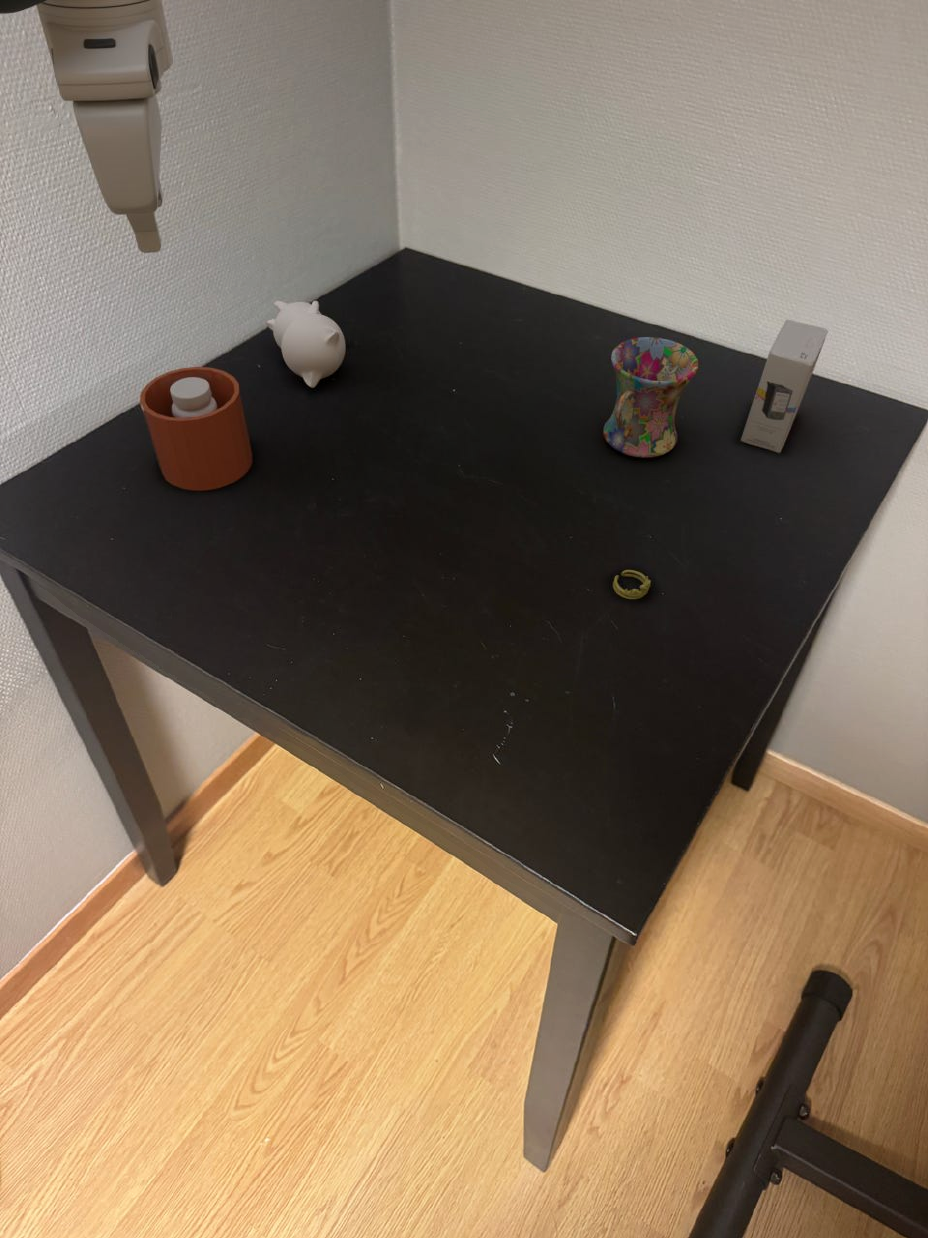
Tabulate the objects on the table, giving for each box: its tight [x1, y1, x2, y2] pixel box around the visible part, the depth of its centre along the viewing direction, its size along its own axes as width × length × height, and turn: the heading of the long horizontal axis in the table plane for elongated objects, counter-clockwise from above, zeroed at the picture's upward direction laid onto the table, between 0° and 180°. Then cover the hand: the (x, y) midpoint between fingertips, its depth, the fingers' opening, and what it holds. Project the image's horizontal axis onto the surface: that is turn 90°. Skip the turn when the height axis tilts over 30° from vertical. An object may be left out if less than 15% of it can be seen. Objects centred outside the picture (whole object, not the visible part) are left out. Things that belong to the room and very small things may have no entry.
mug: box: [602, 336, 699, 458], centre depth 96 cm, size 12×9×11 cm
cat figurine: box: [266, 300, 346, 389], centre depth 108 cm, size 9×11×12 cm
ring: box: [612, 569, 652, 600], centre depth 83 cm, size 3×3×3 cm
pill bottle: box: [170, 377, 218, 418], centre depth 93 cm, size 5×5×8 cm
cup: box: [139, 366, 254, 491], centre depth 93 cm, size 10×10×9 cm
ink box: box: [740, 319, 829, 454], centre depth 98 cm, size 9×5×12 cm, turn 153°
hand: (152, 225), depth 75 cm, fingers open, 8 cm apart
